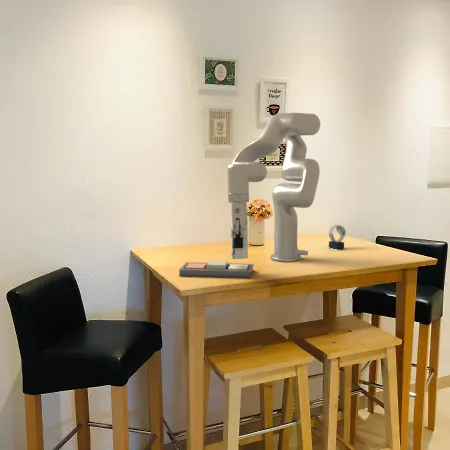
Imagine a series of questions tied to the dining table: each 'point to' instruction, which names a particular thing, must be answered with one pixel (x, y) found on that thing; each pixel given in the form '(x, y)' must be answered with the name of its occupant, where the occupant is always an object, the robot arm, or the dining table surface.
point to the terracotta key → (195, 266)
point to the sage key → (216, 265)
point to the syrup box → (243, 252)
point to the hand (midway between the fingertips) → (239, 245)
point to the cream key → (238, 267)
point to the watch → (338, 243)
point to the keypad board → (216, 272)
